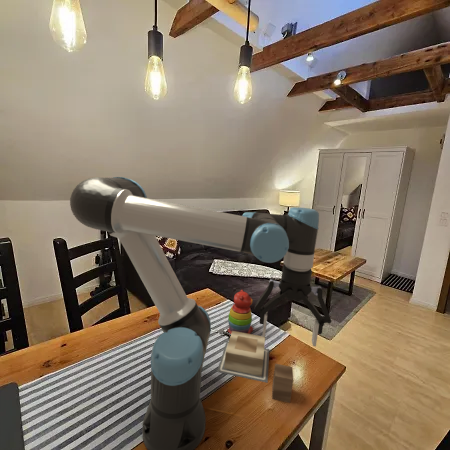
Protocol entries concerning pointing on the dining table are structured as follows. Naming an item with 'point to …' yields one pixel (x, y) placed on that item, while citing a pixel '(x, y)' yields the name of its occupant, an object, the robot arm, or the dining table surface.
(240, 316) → the stacking bear
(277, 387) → the walnut block
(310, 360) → the dining table surface
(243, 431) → the dining table surface
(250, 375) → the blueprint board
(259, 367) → the plinth block
